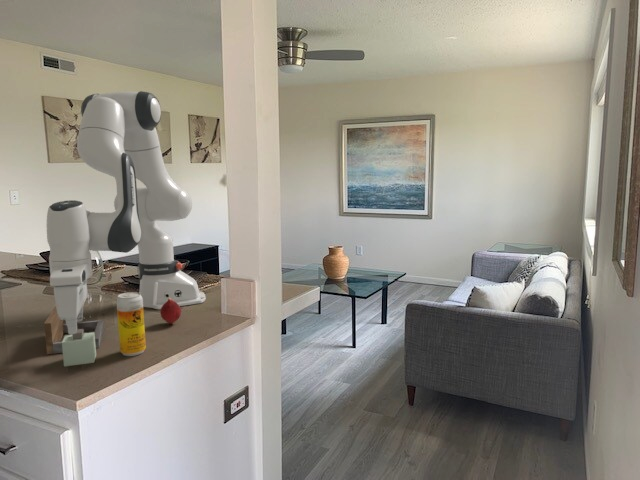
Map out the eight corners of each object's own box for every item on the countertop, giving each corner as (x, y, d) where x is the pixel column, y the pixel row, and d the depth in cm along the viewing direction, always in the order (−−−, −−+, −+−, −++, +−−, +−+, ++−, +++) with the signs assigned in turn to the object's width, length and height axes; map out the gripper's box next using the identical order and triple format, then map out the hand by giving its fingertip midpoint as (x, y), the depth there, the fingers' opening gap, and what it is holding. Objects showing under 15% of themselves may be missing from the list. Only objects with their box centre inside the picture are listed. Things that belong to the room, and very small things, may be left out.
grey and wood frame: (104, 327, 141) (102, 301, 139) (99, 347, 126) (96, 318, 124) (58, 332, 137) (55, 305, 135) (47, 354, 122) (43, 323, 120)
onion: (185, 321, 145) (184, 296, 144) (173, 328, 140) (172, 301, 139) (169, 319, 147) (167, 294, 146) (157, 326, 142) (155, 299, 141)
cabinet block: (96, 355, 121) (93, 326, 120) (94, 362, 117) (91, 333, 115) (67, 358, 119) (64, 329, 118) (64, 366, 115) (61, 336, 113)
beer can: (130, 358, 119) (126, 299, 116) (115, 353, 122) (110, 296, 119) (151, 350, 124) (147, 293, 121) (135, 345, 127) (131, 290, 124)
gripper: (64, 263, 123) (68, 315, 125) (47, 280, 104) (53, 342, 106) (91, 261, 125) (95, 313, 127) (80, 278, 106) (85, 339, 108)
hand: (76, 326), depth 116 cm, fingers open, 8 cm apart
